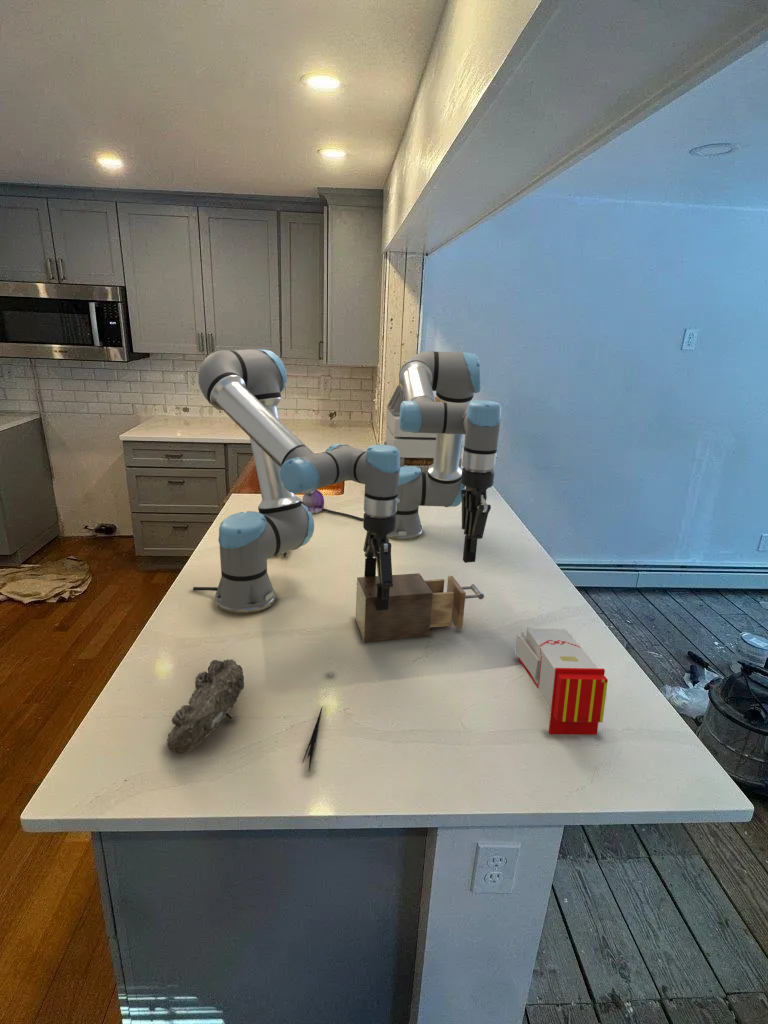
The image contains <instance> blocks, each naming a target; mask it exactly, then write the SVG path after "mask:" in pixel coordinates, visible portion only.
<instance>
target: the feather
mask: <svg viewBox="0 0 768 1024" xmlns="http://www.w3.org/2000/svg"><path fill="white" fill-rule="evenodd" d="M329 675H330V676H331V675H332V674H331V673H330V674H329ZM322 710H323V707H321V708H320V710H319V713H318V716H317V719H316V723H315V725H314V728H313V731H312V733H311V737H310V739H309V742H308V745H307V748H306V751H305V754H304V757H303V760H302V763H301V767H302V765H303V763H304V761H305V758H308V759H309V760H308V762H307V763H308V764H307V766H308V771H310V770H311V766H312V765H311V764H312V760H313V757H315V756H314V755H315V751H316V749H315V746H317V739H318V733H319V729H320V722H321V717H322V712H323V711H322ZM313 754H314V755H313ZM306 755H307V757H306Z"/></svg>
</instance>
